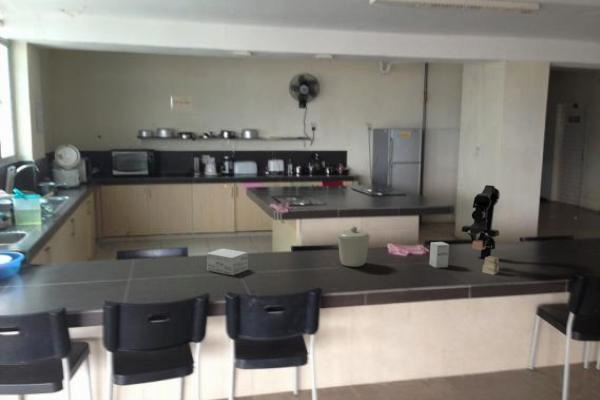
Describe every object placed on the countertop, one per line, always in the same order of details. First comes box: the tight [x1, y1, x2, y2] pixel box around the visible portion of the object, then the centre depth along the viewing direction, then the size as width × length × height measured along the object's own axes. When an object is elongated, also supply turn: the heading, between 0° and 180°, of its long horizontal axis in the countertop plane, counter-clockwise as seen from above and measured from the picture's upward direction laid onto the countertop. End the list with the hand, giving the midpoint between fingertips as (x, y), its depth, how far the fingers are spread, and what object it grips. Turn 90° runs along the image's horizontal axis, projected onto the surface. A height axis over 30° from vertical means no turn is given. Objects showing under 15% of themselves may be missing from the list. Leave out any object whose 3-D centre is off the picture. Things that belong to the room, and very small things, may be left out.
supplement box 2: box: [206, 248, 249, 276], centre depth 265 cm, size 17×13×9 cm
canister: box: [336, 225, 371, 268], centre depth 278 cm, size 18×18×21 cm
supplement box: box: [428, 241, 450, 269], centre depth 279 cm, size 7×7×13 cm
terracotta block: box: [472, 239, 485, 251], centre depth 278 cm, size 5×5×4 cm
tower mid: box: [483, 255, 500, 267], centre depth 268 cm, size 5×5×4 cm
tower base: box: [482, 264, 500, 276], centre depth 269 cm, size 6×6×4 cm
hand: (479, 246), depth 278 cm, fingers closed on terracotta block, 5 cm apart
